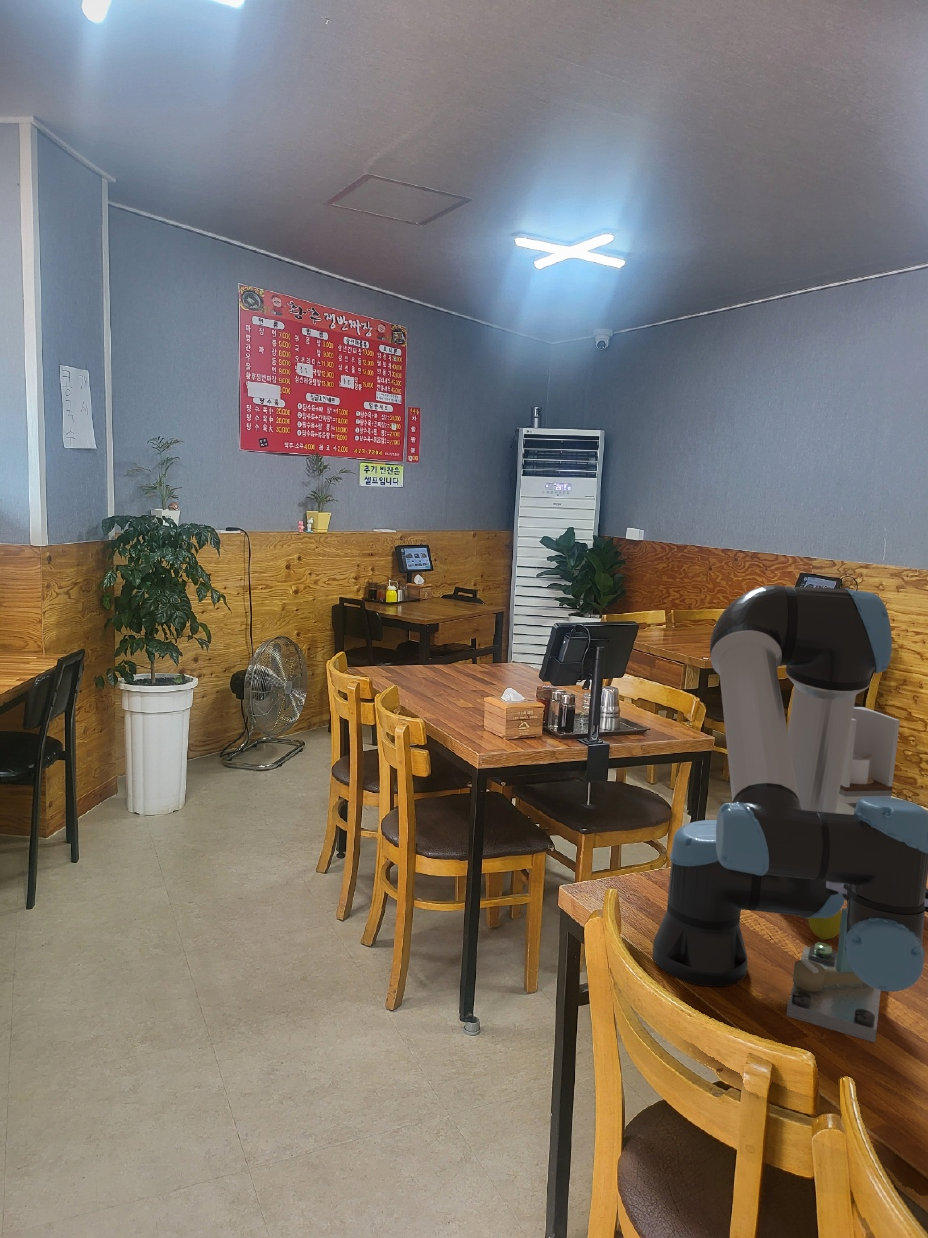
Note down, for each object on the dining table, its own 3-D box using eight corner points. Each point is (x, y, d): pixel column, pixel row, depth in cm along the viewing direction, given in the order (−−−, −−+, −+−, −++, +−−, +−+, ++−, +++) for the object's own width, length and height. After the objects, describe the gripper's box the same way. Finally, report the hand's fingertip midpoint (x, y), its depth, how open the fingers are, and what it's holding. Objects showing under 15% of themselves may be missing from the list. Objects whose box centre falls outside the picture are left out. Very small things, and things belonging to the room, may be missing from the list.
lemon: (841, 938, 151) (846, 896, 150) (837, 951, 146) (842, 907, 145) (808, 929, 154) (813, 887, 153) (803, 942, 149) (808, 899, 148)
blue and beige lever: (803, 992, 128) (810, 919, 127) (787, 977, 133) (794, 906, 131) (880, 987, 131) (888, 915, 130) (861, 972, 135) (869, 902, 134)
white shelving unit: (803, 864, 184) (818, 706, 180) (846, 862, 186) (863, 707, 182) (834, 887, 173) (852, 720, 168) (881, 885, 175) (899, 720, 170)
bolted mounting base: (875, 1043, 121) (878, 1018, 120) (786, 1016, 126) (788, 992, 126) (881, 978, 138) (884, 957, 138) (803, 957, 144) (805, 936, 143)
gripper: (820, 931, 105) (826, 875, 127) (939, 955, 100) (924, 892, 121) (824, 871, 105) (829, 825, 126) (944, 892, 99) (928, 840, 121)
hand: (876, 858), depth 124 cm, fingers closed
